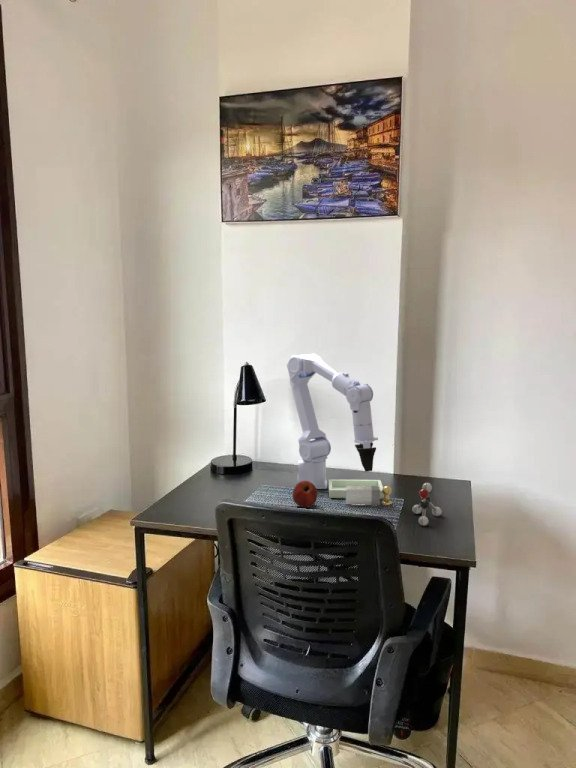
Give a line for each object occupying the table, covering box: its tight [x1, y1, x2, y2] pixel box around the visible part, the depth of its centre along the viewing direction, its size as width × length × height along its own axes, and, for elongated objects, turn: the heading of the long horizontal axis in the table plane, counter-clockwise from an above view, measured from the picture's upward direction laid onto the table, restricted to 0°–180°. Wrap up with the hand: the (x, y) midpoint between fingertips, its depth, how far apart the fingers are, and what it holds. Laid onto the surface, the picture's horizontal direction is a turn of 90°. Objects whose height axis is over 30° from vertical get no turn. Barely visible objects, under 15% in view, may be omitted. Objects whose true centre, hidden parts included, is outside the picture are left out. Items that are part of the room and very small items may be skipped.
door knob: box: [381, 485, 392, 506], centre depth 179 cm, size 3×3×6 cm
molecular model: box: [411, 482, 442, 527], centre depth 165 cm, size 8×12×11 cm
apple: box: [292, 481, 318, 508], centre depth 176 cm, size 7×8×8 cm
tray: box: [327, 479, 384, 500], centre depth 189 cm, size 17×11×3 cm, turn 87°
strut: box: [345, 486, 381, 506], centre depth 179 cm, size 10×4×5 cm, turn 87°
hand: (367, 468), depth 179 cm, fingers open, 7 cm apart
